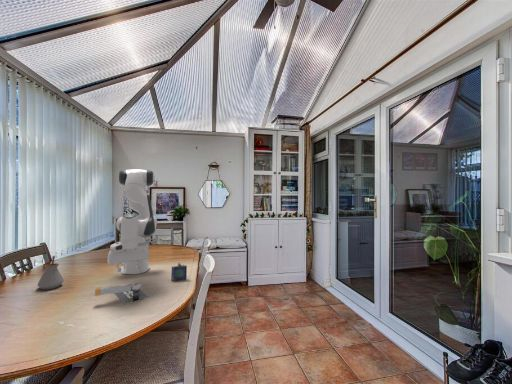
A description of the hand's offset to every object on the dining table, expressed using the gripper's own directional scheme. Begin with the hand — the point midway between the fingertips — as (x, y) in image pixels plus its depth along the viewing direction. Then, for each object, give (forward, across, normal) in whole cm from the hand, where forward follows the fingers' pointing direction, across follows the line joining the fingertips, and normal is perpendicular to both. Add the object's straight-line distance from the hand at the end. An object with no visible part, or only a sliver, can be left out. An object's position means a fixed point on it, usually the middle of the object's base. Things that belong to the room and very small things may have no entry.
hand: (128, 269), depth 130 cm
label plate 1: (+12, 0, 0) cm, 12 cm away
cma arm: (+8, +7, +9) cm, 14 cm away
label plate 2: (+12, 0, +6) cm, 14 cm away
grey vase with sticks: (+13, +29, -45) cm, 55 cm away
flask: (+13, -30, -2) cm, 33 cm away
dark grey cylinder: (+12, 0, +12) cm, 17 cm away
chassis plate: (+13, 0, +5) cm, 14 cm away
